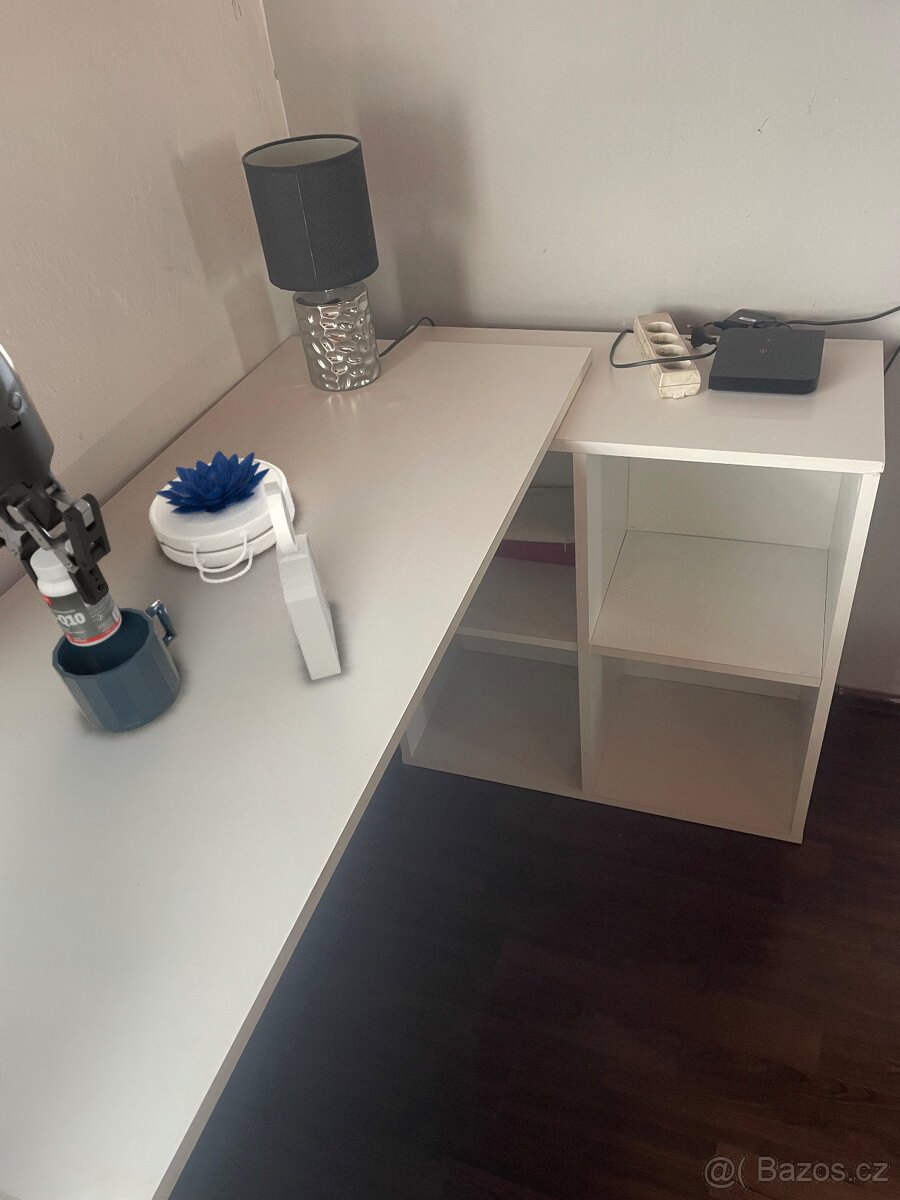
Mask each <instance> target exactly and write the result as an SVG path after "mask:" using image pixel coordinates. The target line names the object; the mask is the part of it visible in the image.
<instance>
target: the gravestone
mask: <svg viewBox="0 0 900 1200" xmlns="http://www.w3.org/2000/svg"><path fill="white" fill-rule="evenodd" d="M264 489H265V494H266V498H267V504H268V508H269V513H270V517H271V521H272V524H273V528H274V532H275V535H276V538H277V541H276V543H275V550H276V559H277V567H278V572H279V579H280V583H281V589H282V595H283V598H284V603H285V606H286V610H287V611H288V615H289V618H290V621H291V623H292V626H293V629H294V631H295V635H296V638H297V641H298V643H299V647H300V649H301V650H300V651H301V652H302V655H303V658H304V661H305V665H306V667H307V670H308V672H309V676H310V678H311V681H316V680H318V679H319V680H320V679H324V678H327V677H331V676H335V675H340V674H342V668H341V662H340V657H339V652H338V646H337V641H336V640H337V639H336V636H335V629H334V624H333V620H332V619H333V617H332V613H331V608H330V605H329V601H328V598H327V594H326V592H325V589H324V584H323V581H322V577H321V575H320V571H319V569H318V565H317V562H316V558H315V554H314V551H313V549H312V546H311V545H312V544H311V542H310V541H311V540H310V538H309V535H308V533H307V532H305V533H301V534H296V533H295V529H294V525H293V524H294V523H293V521H292V520H291V516H290V512H289V509H288V505H287V502H286V498H285V495H284V492H283V490H282V487H281V485H280V484H278V483H277V481H274V482H270V483H266V484H264Z"/></svg>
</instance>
